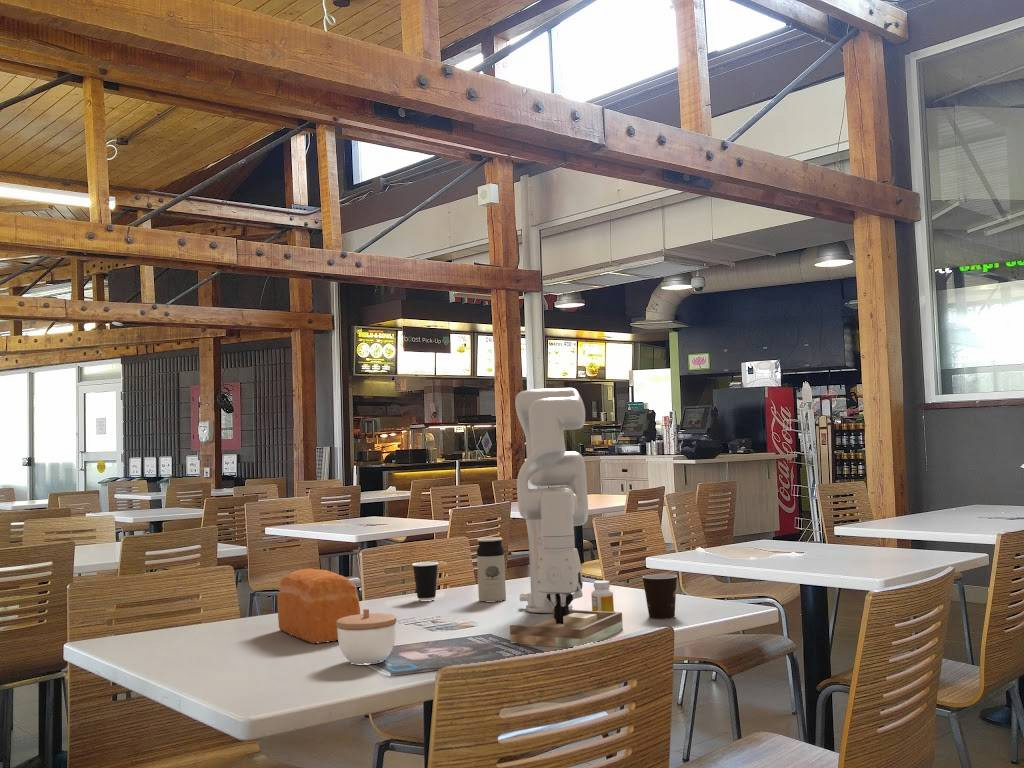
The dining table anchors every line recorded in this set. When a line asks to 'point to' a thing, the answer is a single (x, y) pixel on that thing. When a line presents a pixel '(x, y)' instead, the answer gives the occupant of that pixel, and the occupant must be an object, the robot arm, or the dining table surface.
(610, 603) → the supplement bottle
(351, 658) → the lidded bowl
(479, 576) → the travel mug
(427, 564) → the dixie cup
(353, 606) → the bread
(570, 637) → the box
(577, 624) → the maple block
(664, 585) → the coffee mug
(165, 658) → the dining table surface
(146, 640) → the dining table surface
